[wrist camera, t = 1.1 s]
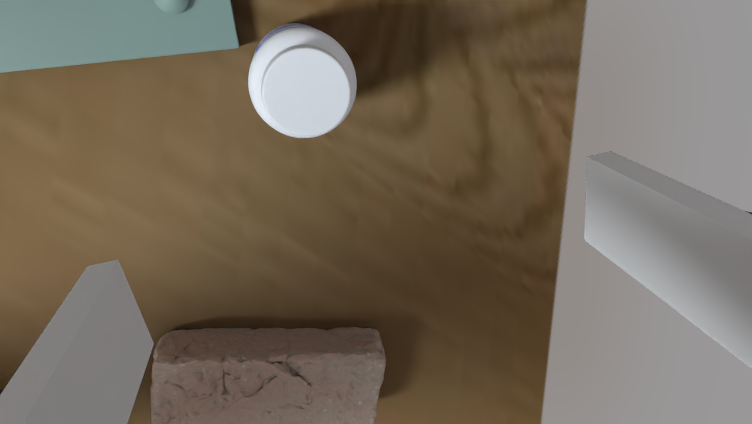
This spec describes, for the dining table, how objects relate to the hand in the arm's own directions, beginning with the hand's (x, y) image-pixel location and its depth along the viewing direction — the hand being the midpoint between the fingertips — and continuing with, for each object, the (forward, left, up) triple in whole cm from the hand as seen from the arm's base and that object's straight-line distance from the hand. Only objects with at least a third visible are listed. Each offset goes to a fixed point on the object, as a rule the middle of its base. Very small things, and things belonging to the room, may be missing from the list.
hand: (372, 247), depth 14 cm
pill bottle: (-1, +3, -20) cm, 20 cm away
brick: (-6, -20, -21) cm, 29 cm away
